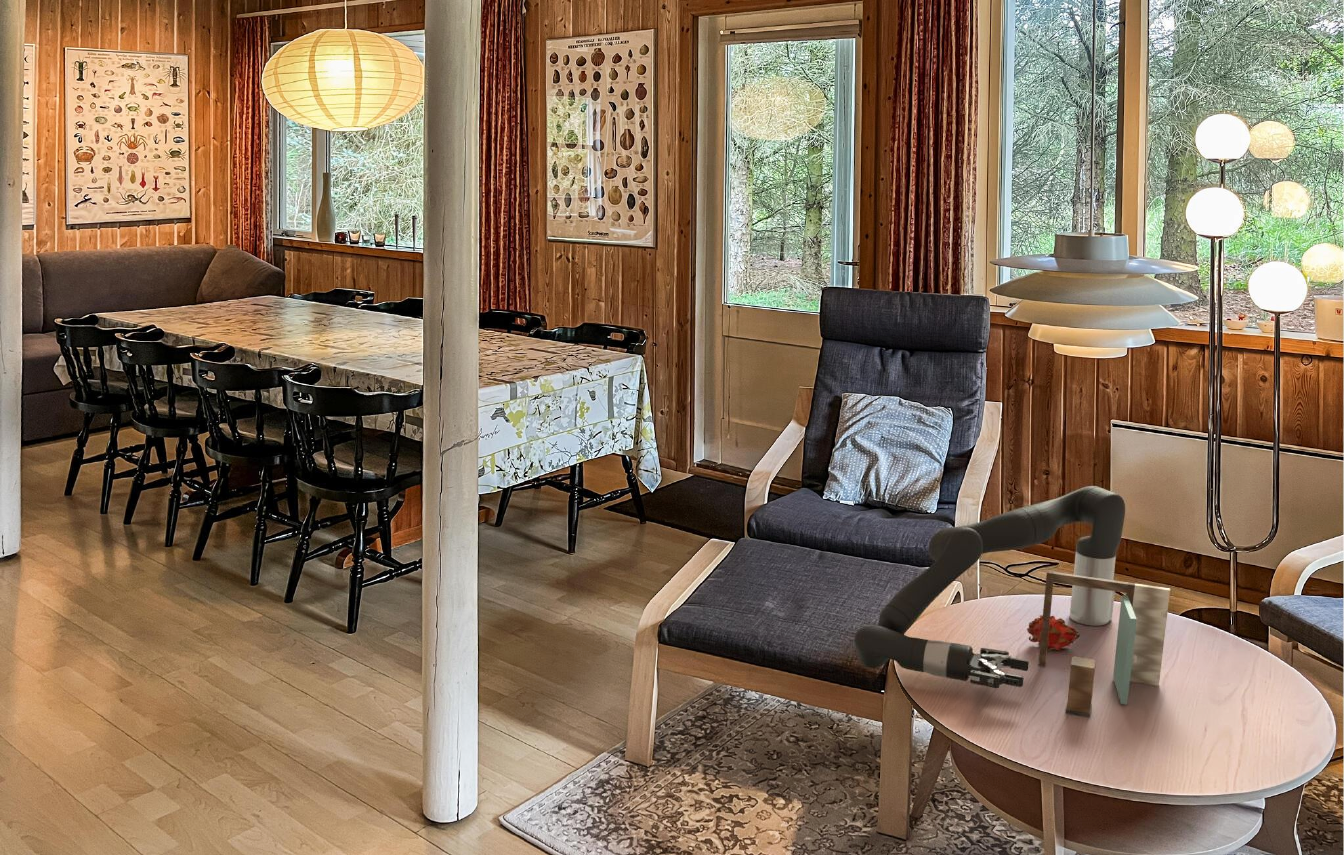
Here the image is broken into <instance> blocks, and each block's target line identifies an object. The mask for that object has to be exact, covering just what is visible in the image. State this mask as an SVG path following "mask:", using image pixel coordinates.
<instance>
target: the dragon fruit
mask: <svg viewBox="0 0 1344 855" xmlns="http://www.w3.org/2000/svg"><path fill="white" fill-rule="evenodd" d="M1042 619H1043V614H1040V615H1039V617H1036V618H1034V620H1032V621H1031V622H1029V623H1028V627H1027V628H1026V631H1027V633H1028V634H1029V635H1030V636H1028V641H1030V642H1031V643H1038V647H1039V648H1040V641H1041V630H1042ZM1065 622H1066V621H1065V619H1063V617H1062V618H1061V617H1059V618H1056V617H1055V616H1054V615H1050V625H1049V635H1048V646H1047V652H1050V651H1051V650H1057V651H1059V652H1065V651H1069V648H1067V647H1069V646H1071V644H1074V642H1075V641H1077V640H1078V638H1080V634H1079V631H1078V630H1077V629H1076V628H1075V627H1073V626H1070V625H1068V624H1066V623H1065Z"/></svg>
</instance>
